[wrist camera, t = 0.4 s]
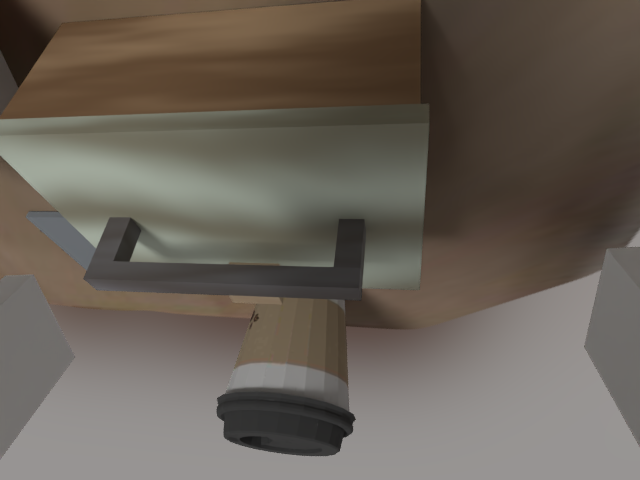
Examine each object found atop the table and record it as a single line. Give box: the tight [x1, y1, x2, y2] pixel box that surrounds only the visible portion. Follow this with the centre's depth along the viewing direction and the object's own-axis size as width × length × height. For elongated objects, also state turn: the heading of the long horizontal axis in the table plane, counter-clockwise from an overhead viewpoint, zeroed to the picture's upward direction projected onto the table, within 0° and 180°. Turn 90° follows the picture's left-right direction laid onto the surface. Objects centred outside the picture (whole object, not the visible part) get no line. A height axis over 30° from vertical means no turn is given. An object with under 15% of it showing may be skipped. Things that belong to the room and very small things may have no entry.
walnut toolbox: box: [0, 0, 429, 305], centre depth 25 cm, size 13×19×12 cm
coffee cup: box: [217, 298, 356, 456], centre depth 41 cm, size 11×11×15 cm
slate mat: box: [26, 212, 96, 270], centre depth 45 cm, size 13×13×1 cm
